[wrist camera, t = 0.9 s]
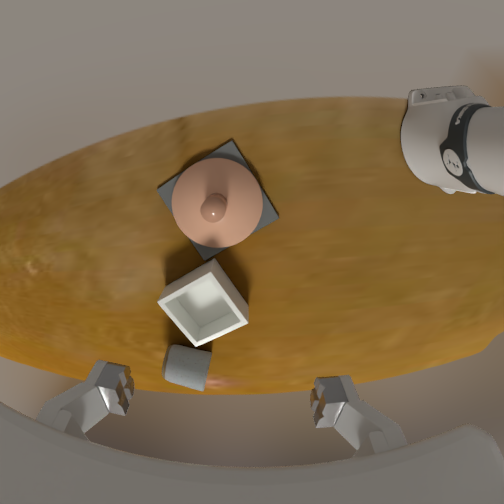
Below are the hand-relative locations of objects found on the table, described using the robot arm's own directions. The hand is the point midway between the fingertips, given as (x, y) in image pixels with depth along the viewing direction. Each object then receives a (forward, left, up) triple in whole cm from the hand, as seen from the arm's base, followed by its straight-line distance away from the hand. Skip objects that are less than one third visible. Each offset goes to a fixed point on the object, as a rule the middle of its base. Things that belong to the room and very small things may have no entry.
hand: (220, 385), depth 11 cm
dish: (+12, +9, -32) cm, 35 cm away
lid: (+2, -3, -31) cm, 31 cm away
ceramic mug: (+23, +19, -32) cm, 44 cm away
